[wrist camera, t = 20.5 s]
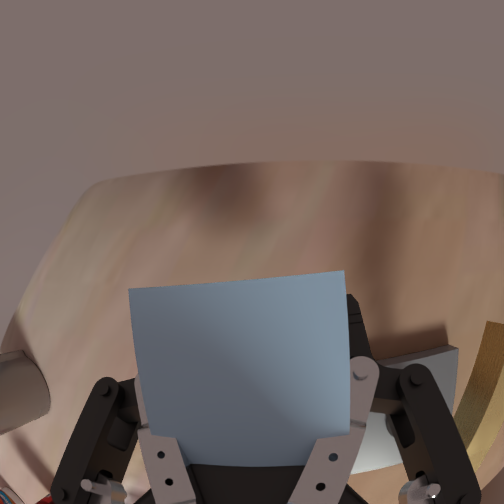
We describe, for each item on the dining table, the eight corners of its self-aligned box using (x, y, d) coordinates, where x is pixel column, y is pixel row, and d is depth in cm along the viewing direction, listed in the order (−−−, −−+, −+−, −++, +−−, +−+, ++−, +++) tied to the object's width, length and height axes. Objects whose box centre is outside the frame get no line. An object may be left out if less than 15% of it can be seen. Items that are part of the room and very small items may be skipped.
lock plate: (233, 471, 24) (225, 495, 20) (220, 375, 26) (207, 391, 21) (438, 441, 22) (454, 459, 17) (448, 344, 23) (471, 353, 19)
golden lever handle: (416, 429, 20) (464, 489, 10) (395, 428, 20) (439, 493, 10) (456, 315, 21) (534, 330, 10) (436, 310, 21) (514, 326, 11)
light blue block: (226, 374, 17) (159, 464, 7) (217, 284, 17) (128, 288, 7) (319, 369, 16) (347, 466, 6) (313, 275, 17) (344, 270, 7)
